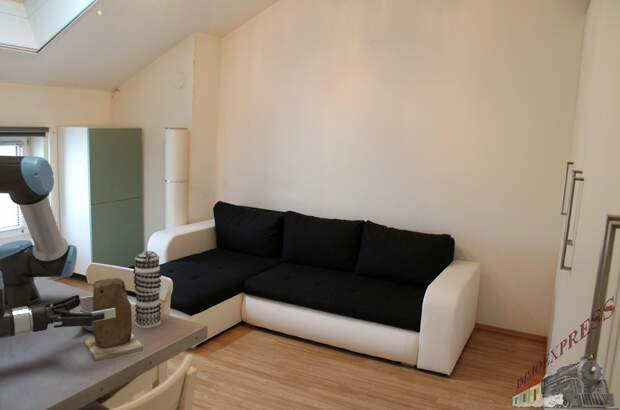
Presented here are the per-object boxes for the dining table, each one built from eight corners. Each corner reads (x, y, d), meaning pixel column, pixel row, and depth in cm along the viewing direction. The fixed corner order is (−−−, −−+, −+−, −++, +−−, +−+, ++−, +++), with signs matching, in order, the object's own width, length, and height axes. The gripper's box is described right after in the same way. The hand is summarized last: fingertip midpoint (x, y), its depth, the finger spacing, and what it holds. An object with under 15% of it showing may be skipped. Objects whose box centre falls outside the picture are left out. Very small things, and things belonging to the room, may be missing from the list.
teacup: (104, 318, 182) (103, 297, 180) (121, 328, 175) (120, 305, 174) (64, 330, 171) (63, 307, 170) (81, 340, 164) (80, 316, 163)
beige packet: (83, 342, 163) (83, 338, 163) (129, 333, 171) (129, 329, 171) (95, 360, 152) (95, 356, 152) (143, 349, 160) (143, 345, 160)
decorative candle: (146, 330, 173) (145, 258, 169) (128, 323, 178) (126, 253, 174) (167, 322, 181) (167, 252, 177) (149, 315, 186) (148, 248, 181)
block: (95, 350, 155) (93, 286, 152) (92, 340, 162) (90, 278, 158) (133, 344, 160) (132, 281, 157) (129, 334, 167) (128, 274, 163)
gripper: (23, 317, 156) (97, 304, 169) (39, 349, 137) (121, 331, 149) (22, 293, 155) (97, 281, 167) (37, 322, 135) (120, 306, 148)
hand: (108, 305), depth 158 cm, fingers open, 13 cm apart
